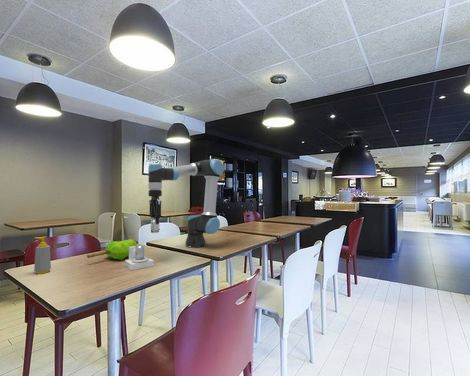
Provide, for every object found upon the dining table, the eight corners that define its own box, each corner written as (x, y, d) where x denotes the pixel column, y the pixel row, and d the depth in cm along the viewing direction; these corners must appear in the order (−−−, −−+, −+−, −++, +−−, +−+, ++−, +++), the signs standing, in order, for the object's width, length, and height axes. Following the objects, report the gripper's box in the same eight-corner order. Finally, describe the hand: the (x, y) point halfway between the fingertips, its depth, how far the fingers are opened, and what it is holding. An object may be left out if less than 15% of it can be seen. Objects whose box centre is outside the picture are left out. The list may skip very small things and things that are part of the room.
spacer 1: (145, 259, 142) (145, 246, 142) (136, 260, 139) (136, 247, 139) (142, 257, 145) (142, 244, 145) (134, 258, 142) (134, 246, 142)
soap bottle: (33, 271, 133) (33, 236, 133) (50, 269, 137) (50, 235, 137) (34, 275, 127) (34, 238, 128) (51, 272, 132) (51, 236, 132)
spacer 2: (157, 231, 157) (157, 219, 157) (160, 232, 153) (160, 220, 153) (149, 232, 154) (149, 220, 154) (152, 233, 150) (152, 220, 151)
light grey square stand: (146, 261, 151) (146, 244, 151) (154, 266, 142) (154, 247, 142) (124, 265, 143) (125, 247, 144) (131, 270, 134) (131, 251, 135)
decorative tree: (80, 245, 151) (129, 236, 175) (81, 263, 151) (129, 252, 175) (95, 249, 140) (144, 239, 164) (95, 268, 140) (144, 256, 164)
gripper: (143, 189, 159) (143, 228, 159) (154, 189, 145) (154, 231, 145) (155, 189, 163) (155, 227, 163) (167, 189, 149) (167, 230, 149)
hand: (155, 229), depth 154 cm, fingers closed on spacer 2, 4 cm apart
